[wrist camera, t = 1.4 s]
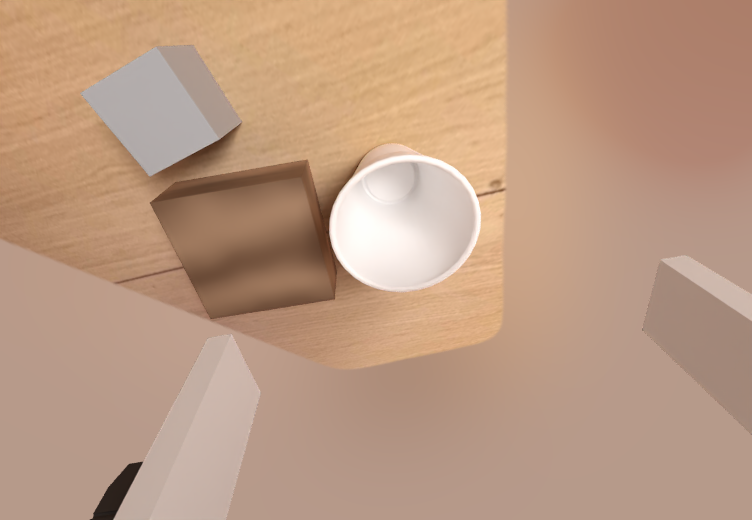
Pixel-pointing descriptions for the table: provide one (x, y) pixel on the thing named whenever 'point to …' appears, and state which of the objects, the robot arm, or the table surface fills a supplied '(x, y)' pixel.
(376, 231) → the cup
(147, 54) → the grey cube
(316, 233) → the walnut block
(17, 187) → the table surface
